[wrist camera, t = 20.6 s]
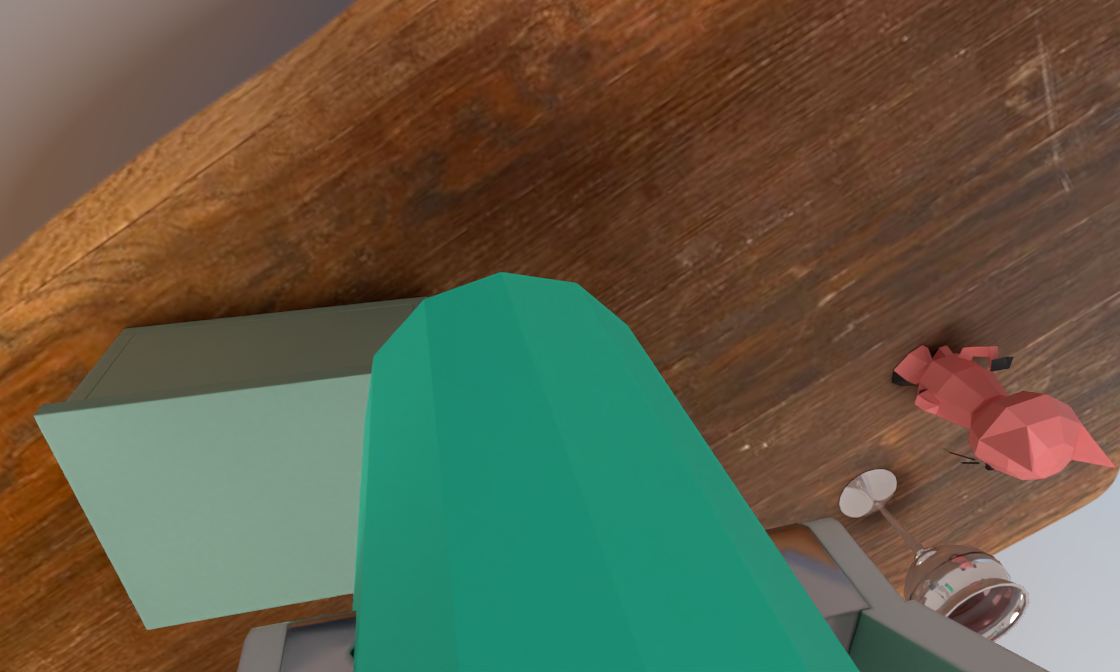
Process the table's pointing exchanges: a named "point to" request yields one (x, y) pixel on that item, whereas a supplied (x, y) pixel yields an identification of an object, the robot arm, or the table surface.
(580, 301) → the candle
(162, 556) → the lid
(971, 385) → the cat figurine
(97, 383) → the chest
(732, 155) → the table surface
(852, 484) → the wineglass
